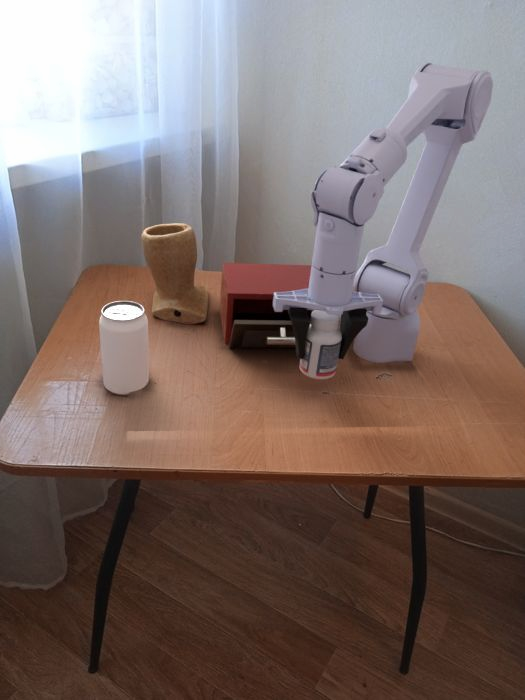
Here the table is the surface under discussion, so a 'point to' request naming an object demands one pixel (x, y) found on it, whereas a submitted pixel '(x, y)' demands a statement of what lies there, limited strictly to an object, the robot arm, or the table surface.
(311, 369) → the pill bottle
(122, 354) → the can
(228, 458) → the table surface
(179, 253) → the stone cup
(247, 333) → the oven door
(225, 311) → the oven
